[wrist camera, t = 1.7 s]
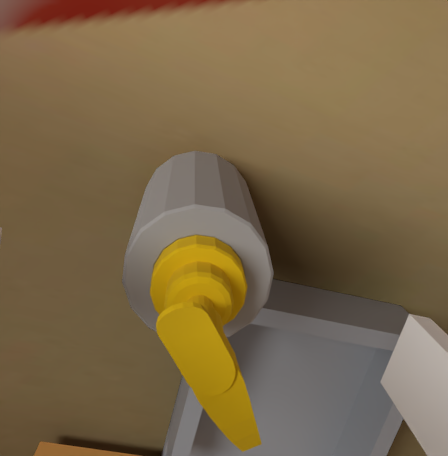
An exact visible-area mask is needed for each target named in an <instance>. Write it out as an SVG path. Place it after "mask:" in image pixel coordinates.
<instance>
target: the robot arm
mask: <svg viewBox="0 0 448 456" xmlns="http://www.w3.org/2000/svg"><path fill="white" fill-rule="evenodd" d="M1 232H2V228H0V242H1ZM380 382H381V384H382V386H383V387H384V389H385V390H386V392H387V393H388V395H389V396H390V398H391V400H392V401H393V403H394V404H395V406H396V407H397V409H398V411H399V412H400V414H401V415H402V417H403V418H404V420H405V422H406V423H407V425H408V426H409V428H410V429H411V431H412V432H413V434H414V436H415V437H416V439H417V440H418V442H419V443H420V445H421V447H422V448H423V450H424V451H425V453H426V454H427V456H448V335H447V334H446V333H445V332H444V331H443V330H442V329H441V328H440V327H439V326H438V325H437V324H436V323H435V322H433V321H432V320H431V319H430V318H426V317H422V316H417V315H412V314H409V316H408V318H407V320H406V323H405V325H404V327H403V330H402V332H401V334H400V337H399V339H398V342H397V344H396V346H395V349H394V351H393V353H392V356H391V358H390V360H389V363H388V365H387V367H386V370H385V372H384V374H383V377H382V379H381V381H380Z"/></svg>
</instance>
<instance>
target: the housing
mask: <svg viewBox="0 0 448 456" xmlns="http://www.w3.org/2000/svg"><path fill="white" fill-rule="evenodd" d="M408 316H409V313H408V312H407V311H406V310H405V309H404V308H403V307H402V306H400V305H395V304H390V303H386V302H381V301H376V300H371V299H366V298H362V297H357V296H352V295H347V294H342V293H338V292H333V291H328V290H323V289H318V288H314V287H309V286H304V285H299V284H294V283H290V282H285V281H280V280H275V279H272V284H271V288H270V293H269V298H268V300H267V302H266V303H265V305H264V306H263V308H262V309H261V310H260V312H259V313H258V315H257V316H256V317H255V319H254V320H253V322H251V323H250V324H248V325H247V326H245V327H244V328H242V329H241V330H239V331H238V332H236V333H235V334H233V335H232V336H230V337H227V339H228V341H229V343H230V345H231V347H232V349H233V350H234V352H235V355H236V359H237V362H238V365H239V368H240V371H241V373H242V376H243V379H244V382H245V385H246V389H247V392H248V395H249V398H250V401H251V405H252V409H253V413H254V417H255V421H256V424H257V428H258V431H259V435H260V439H261V443H262V444H261V445H258V446H256V447H253V448H251V449H249V450H246V451H244V452H242V451H241V450H240V449H239V448H237V447H236V446H235V445H234V444H233V443H232V442H231V441H230V440H229V439H228V438H227V437H226V436H225V435H224V434H223V432H222V431H221V430H220V429H219V428H218V426H217V425H216V424H215V423H214V422H213V420H212V419H211V418H210V417H209V415H208V414H207V412H206V411H205V410H204V408H203V407H202V406H201V404H200V403H199V402H198V400H197V398H196V396H195V394H194V392H193V390H192V388H191V387H190V386H189V385H188V383H187V382H186V380H185V379H184V377H183V375H182V379H181V382H180V386H179V390H178V394H177V398H176V402H175V406H174V409H173V413H172V417H171V421H170V425H169V429H168V432H167V436H166V440H165V444H164V448H163V452H162V455H161V456H387V454H388V451H389V449H390V447H391V445H392V443H393V440H394V438H395V436H396V434H397V432H398V429H399V427H400V425H401V423H402V421H403V417H402V415H401V414H400V412H399V411H398V409H397V407H396V406H395V404H394V403H393V401H392V400H391V398H390V396H389V395H388V393H387V392H386V390H385V389H384V387H383V386H382V384H381V382H380V381H381V379H382V377H383V374H384V372H385V370H386V367H387V365H388V363H389V360H390V358H391V356H392V353H393V351H394V349H395V346H396V344H397V342H398V339H399V337H400V334H401V332H402V330H403V327H404V325H405V323H406V320H407V318H408Z"/></svg>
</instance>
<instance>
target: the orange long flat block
mask: <svg viewBox="0 0 448 456" xmlns="http://www.w3.org/2000/svg"><path fill="white" fill-rule="evenodd" d="M34 456H141V455H133V454H126V453H119V452H112V451H105V450H98V449H91V448H84V447H77V446H69V445H62V444H55V443H48V442H41V441H40V443H39V445H38V448H37V450H36V452H35V454H34Z"/></svg>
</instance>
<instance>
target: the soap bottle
mask: <svg viewBox="0 0 448 456" xmlns="http://www.w3.org/2000/svg"><path fill="white" fill-rule="evenodd" d="M273 274H274V272H273V268H272V263H271V258H270V254H269V249H268V245H267V242H266V239H265V236H264V233H263V230H262V228H261V225H260V222H259V219H258V216H257V213H256V210H255V207H254V204H253V201H252V198H251V195H250V192H249V189H248V187H247V184H246V181H245V180H244V179H243V177H242V176H241V174H240V173H239V172H238V170H237V169H236V167H235V166H234V165H233V164H231V163H229V162H228V161H226V160H225V159H223V158H221V157H220V156H218V155H217V154H212V153H205V152H199V151H192V152H188V153H184V154H180V155H175V156H173V157H172V158H170V159H169V160H168V161H166V162H165V163H164V164H162V165H161V166H160V167H158V168H157V169H156V171H155V173H154V174H153V176H152V178H151V179H150V181H149V183H148V185H147V186H146V189H145V193H144V196H143V199H142V202H141V205H140V208H139V212H138V215H137V218H136V221H135V224H134V228H133V231H132V234H131V237H130V240H129V243H128V247H127V250H126V253H125V260H124V270H123V279H122V283H123V286H124V289H125V292H126V295H127V298H128V300H129V303H130V306H131V308H132V309H133V311H134V312H135V313H136V314H137V315H138V316H139V317H140V318H141V319H142V321H143V322H144V323H145V324H146V325H147V326H148V327H149V328H150V329H152V330H154V331H156V332H157V333H158V336H159V337H160V339H161V340H162V342H163V343H164V345H165V347H166V348H167V350H168V351H169V353H170V355H171V356H172V358H173V360H174V361H175V363H176V365H177V366H178V368H179V370H180V371H181V373H182V375H183V377H184V379H185V380H186V382H187V383H188V385H189V386H190V387H191V388H192V390H193V392H194V394H195V396H196V398H197V400H198V402H199V403H200V404H201V406H202V407H203V408H204V410H205V411H206V412H207V414H208V415H209V417H210V418H211V419H212V420H213V422H214V423H215V424H216V425H217V426H218V428H219V429H220V430H221V431H222V432H223V434H224V435H225V436H226V437H227V438H228V439H229V440H230V441H231V442H232V443H233V444H234V445H235V446H236V447H237V448H239V449H240V450H241V451H242V452H244V451H246V450H249V449H251V448H253V447H256V446H258V445H261V444H262V443H261V439H260V435H259V431H258V428H257V424H256V421H255V417H254V413H253V409H252V405H251V401H250V398H249V395H248V392H247V389H246V385H245V382H244V379H243V376H242V373H241V371H240V368H239V365H238V362H237V359H236V355H235V352H234V350H233V349H232V347H231V345H230V343H229V341H228V339H227V337H230V336H232V335H233V334H235V333H236V332H238V331H239V330H241V329H242V328H244V327H245V326H247V325H248V324H250V323H251V322H253V320H254V319H255V317H256V316H257V315H258V313H259V312H260V310H261V309H262V308H263V306H264V305H265V303H266V302H267V300H268V298H269V293H270V288H271V284H272V279H273Z"/></svg>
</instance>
